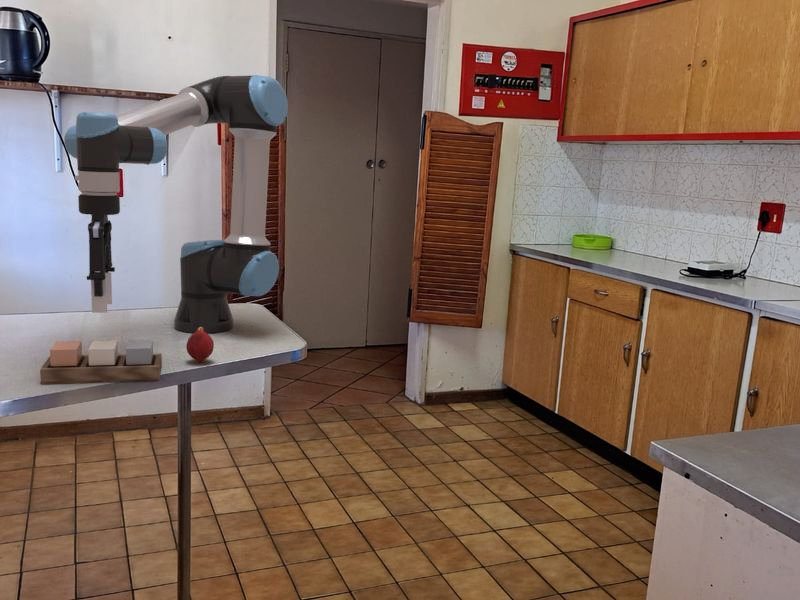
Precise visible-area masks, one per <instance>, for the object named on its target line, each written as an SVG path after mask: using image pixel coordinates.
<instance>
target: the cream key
mask: <svg viewBox="0 0 800 600" xmlns="http://www.w3.org/2000/svg"><path fill="white" fill-rule="evenodd" d="M87 351H88V352H87V353H88V354H87V355H89V365H115V362H116V360H117V357H118V354H119V343H118V340H92V342H91V344H90V345H89V347H88V349H87Z"/></svg>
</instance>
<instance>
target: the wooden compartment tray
mask: <svg viewBox="0 0 800 600" xmlns="http://www.w3.org/2000/svg"><path fill="white" fill-rule="evenodd" d="M162 359H163V358H162V353H153V358H152V363H151V364H133V365H126V353H124V354H122V353H121V354H119V353H118V357H117V360H116V362H115V365H89V355H88V354H82V358H81V359H80V361H79V363H78V365H77V366H51V364H50V356H49V357H47V359H46V361H44V364H42V366H41V368H40V369H39V375H40V376H39V377H40V385H60V384H61V385H62V384H63V385H65V384H66V385H67V384H95V383H96V384H99V383H134V382H135V383H136V382H159V381H160V380H161V373H162V368H163V367H162V366H163V364H162V363H163V361H162Z"/></svg>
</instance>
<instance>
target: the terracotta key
mask: <svg viewBox="0 0 800 600" xmlns="http://www.w3.org/2000/svg"><path fill="white" fill-rule="evenodd" d="M82 355H83V344H82V340H68V341H67V340H64V341H63V340H60V341H57V340H56V341H55V342H54V344H53V345H52V346H51V348H50V349H49V357H50V364H51V366H77V365H78V363H79V361H80V359H81V358H82Z"/></svg>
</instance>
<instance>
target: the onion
mask: <svg viewBox="0 0 800 600" xmlns="http://www.w3.org/2000/svg"><path fill="white" fill-rule="evenodd" d="M214 347H215V345H214V340H213V339H212V336H211V335H210V334H209V333H206V332H204V328H202V327H199V328H198V330H197V331H196V332H195V333H191V335H190V336H189V338H188V339H187V341H186V347H185V348H186V352H187V354H188V355H189V356H190V357H191V358H192V359H193V360H194V361H196V362H197V363H203V362H204V361H205V360H206V359H207V358H208V359H209V357H210V356H211V355H212V354H213V351H214Z"/></svg>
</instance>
